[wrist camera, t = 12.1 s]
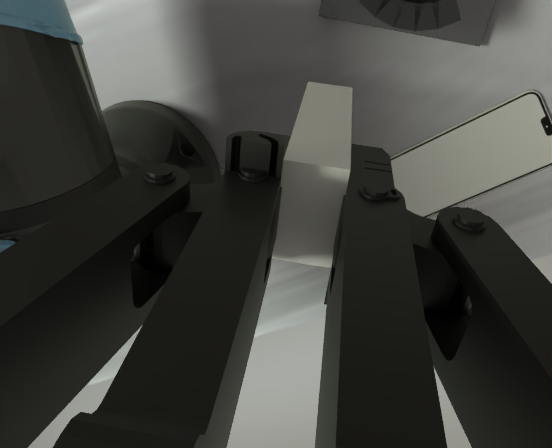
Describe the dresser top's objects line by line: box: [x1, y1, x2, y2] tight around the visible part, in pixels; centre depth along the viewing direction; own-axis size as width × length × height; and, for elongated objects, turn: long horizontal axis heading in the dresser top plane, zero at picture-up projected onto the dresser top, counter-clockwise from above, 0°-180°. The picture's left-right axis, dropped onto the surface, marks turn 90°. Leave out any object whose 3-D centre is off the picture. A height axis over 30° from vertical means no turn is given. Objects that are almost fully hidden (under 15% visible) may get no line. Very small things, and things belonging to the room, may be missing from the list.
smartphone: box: [390, 90, 552, 218], centre depth 45 cm, size 7×1×15 cm
